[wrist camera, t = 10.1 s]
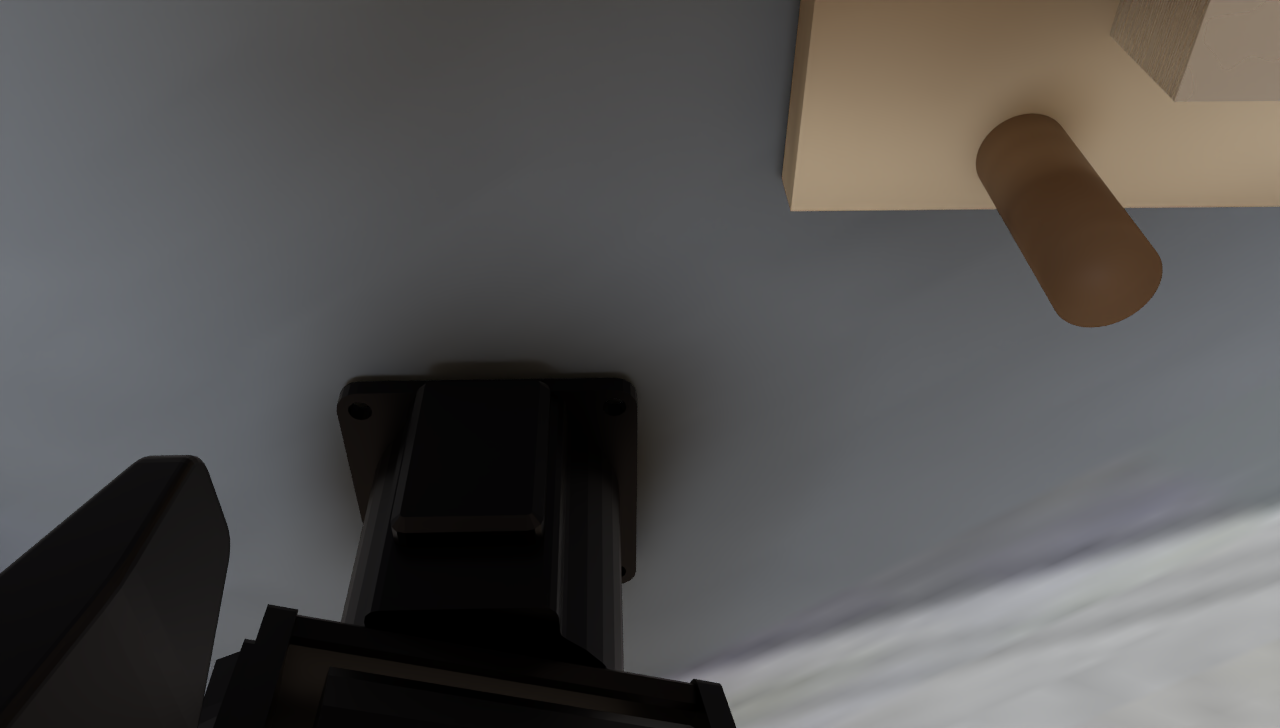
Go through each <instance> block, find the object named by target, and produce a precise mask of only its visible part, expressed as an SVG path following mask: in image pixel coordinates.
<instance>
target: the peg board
mask: <svg viewBox="0 0 1280 728" xmlns="http://www.w3.org/2000/svg"><path fill="white" fill-rule="evenodd" d="M1119 2H1120V0H801V1H800V11H799V20H798V30H797V39H796V49H795V58H794V68H793V77H792V86H791V96H790V105H789V115H788V124H787V134H786V143H785V153H784V162H783V171H782V181H783V185H784V189H785V192H786V196H787V199H788V203H789V207H790V210H791V211H858V210H962V209H997V210H998V212H999V214H1000V215H1001V217H1002V219H1003V221H1004V222H1005V224H1006V226H1007V228H1008V229H1009V231H1010V233H1011V235H1012V236H1013V238H1014V240H1015V242H1016V243H1017V245H1018V247H1019V249H1020V250H1021V252H1022V254H1023V256H1024V257H1025V259H1026V261H1027V262H1028V264H1029V266H1030V268H1031V269H1032V271H1033V273H1034V275H1035V276H1036V278H1037V280H1038V282H1039V283H1040V285H1041V287H1042V289H1043V290H1044V292H1045V294H1046V296H1047V297H1048V299H1049V301H1050V303H1051V304H1052V306H1053V308H1054V310H1055V311H1056V313H1057V314H1058V315H1059V316H1060V317H1061V318H1062V319H1063V320H1065V321H1066V322H1068V323H1070V324H1073V325H1076V326H1081V327H1101V326H1106V325H1110V324H1113V323H1116V322H1119V321H1121V320H1123V319H1126V318H1127V317H1129V316H1131V315H1133V314H1134V313H1135V312H1137V311H1138V310H1140V309H1141V308H1142V307H1143V306H1144V305H1145V304H1146V303H1147V302H1148V301H1149V300H1150V299H1151V298H1152V296H1153V295H1154V293H1155V292H1156V290H1157V288H1158V286H1159V284H1160V281H1161V278H1162V262H1161V259H1160V256H1159V255H1158V253H1157V252H1156V250H1155V249H1154V248H1153V246H1152V245H1151V244H1150V242H1149V241H1148V240H1147V238H1146V237H1145V236H1144V235H1143V233H1142V232H1141V231H1140V229H1139V228H1138V227H1137V225H1136V224H1135V223H1134V221H1133V220H1132V219H1131V217H1130V216H1129V215H1128V213H1127V212H1126V211H1125V209H1124V208H1170V207H1274V206H1280V101H1200V102H1174V101H1173V100H1172V99H1171V98H1170V97H1169V96H1168V95H1167V94H1166V93H1165V92H1164V90H1163V89H1162V88H1161V87H1160V86H1159V85H1158V84H1157V83H1156V82H1155V81H1154V80H1153V79H1152V78H1151V77H1150V76H1149V75H1148V74H1147V73H1146V72H1145V71H1144V70H1143V69H1142V68H1141V67H1140V66H1139V65H1138V64H1137V63H1136V62H1135V61H1134V60H1133V59H1132V58H1131V57H1130V56H1129V55H1128V54H1127V53H1126V52H1125V51H1124V50H1123V49H1122V48H1121V47H1120V46H1119V44H1118V43H1117V42H1116V41H1115V40H1114V39H1113V38H1112V37H1111V36H1110V32H1111V28H1112V25H1113V22H1114V18H1115V15H1116V12H1117V8H1118V5H1119Z"/></svg>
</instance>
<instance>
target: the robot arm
mask: <svg viewBox="0 0 1280 728" xmlns="http://www.w3.org/2000/svg"><path fill="white" fill-rule="evenodd" d="M614 398H615V399H620V400H622V402H621V403H617V404H611V403H608V402H606V401H607V400H609V399H614ZM357 402H360V403H365V404H366V405H368V406H370V407H367V408H362V407H358V406H357V405H355V404H354V403H357ZM337 415H338V419H339V423H340V428H341V432H342V436H343V440H344V445H345V449H346V453H347V458H348V462H349V466H350V470H351V475H352V479H353V483H354V488H355V492H356V496H357V501H358V505H359V509H360V513H361V518H362V522H363V528H362V532H361V537H360V541H359V545H358V550H357V554H356V558H355V563H354V567H353V572H352V576H351V580H350V585H349V589H348V593H347V598H346V602H345V606H344V611H343V615H342V620H341V622H336V621H331V620H325V619H319V618H313V617H308V616H302V615H297V613H298V609H292V608H286V607H280V606H275V605H269V604H268V606H267V609H266V612H265V614H264V617H263V620H262V623H261V626H260V629H259V632H258V635H257V638H256V641H255V640H249V639H245V640H244V642H243V645H242V648H241V651H240V652H237V653H234V654H232V655H229V656H226V657H223V658H220V659H218V660H216V663H215V666H214V669H213V672H212V675H211V678H210V681H209V684H208V687H207V690H206V693H205V688H206V683H207V677H208V672H209V666H210V661H211V655H212V650H213V645H214V639H215V634H216V628H217V623H218V617H219V612H220V606H221V601H222V595H223V590H224V584H225V579H226V573H227V568H228V562H229V556H230V536H229V530H228V526H227V523H226V520H225V517H224V514H223V511H222V509H221V506H220V503H219V500H218V497H217V495H216V492H215V489H214V486H213V483H212V480H211V478H210V475H209V472H208V470H207V468H206V466H205V464H204V463H203V461H202V460H201V459H200V458H198V457H196V456H192V455H161V456H147V457H143V458H141V459H139V460H138V461H136V462H135V463H133V464H132V465H131V466H129V467H128V468H127V469H126V470H125V471H123V472H122V473H121V474H120V475H118V476H117V477H116V478H115V479H114V480H112V481H111V482H110V483H109V484H108V485H106V486H105V487H104V488H103V489H102V490H100V491H99V492H98V493H97V494H96V495H94V496H93V497H92V498H91V499H89V500H88V501H87V502H86V503H85V504H83V505H82V506H81V507H80V508H79V509H77V510H76V511H75V512H74V513H73V514H71V515H70V516H69V517H68V518H67V519H65V520H64V521H63V522H62V523H61V524H59V525H58V526H57V527H56V528H54V529H53V530H52V531H51V532H50V533H48V534H47V535H46V536H45V537H44V538H42V539H41V540H40V541H39V542H38V543H36V544H35V545H34V546H33V547H32V548H30V549H29V550H28V551H27V552H25V553H24V554H23V555H22V556H21V557H19V558H18V559H17V560H16V561H15V562H13V563H12V564H11V565H10V566H9V567H7V568H6V569H5V570H4V571H3V572H1V573H0V728H736V726H735V723H734V720H733V717H732V714H731V711H730V708H729V706H728V703H727V700H726V697H725V694H724V691H723V688H722V686H721V684H720V683H714V682H709V681H703V680H697V679H693V680H692V681H691V682H690V683H687V682H681V681H675V680H670V679H664V678H658V677H652V676H647V675H641V674H635V673H629V672H624V659H623V618H622V583H625V582H627V581H630V580H631V579H632V578H633V577H634V575H635V572H636V502H637V394H636V390H635V388H634V387H633V385H632V384H631V383H630V382H627V381H625V380H623V379H618V378H577V379H508V380H439V381H370V382H355V383H350V384H349V385H347V386H345V387H344V388H343V390H342V391H341V393H340V396H339V400H338V403H337ZM204 694H205V696H204Z"/></svg>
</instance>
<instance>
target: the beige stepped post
mask: <svg viewBox="0 0 1280 728" xmlns="http://www.w3.org/2000/svg"><path fill="white" fill-rule="evenodd" d="M1110 36H1111V37H1112V38H1113V39H1114V40H1115V41H1116V42H1117V43H1118V44H1119V46H1120V47H1121V48H1122V49H1123V50H1124V51H1125V52H1126V53H1127V54H1128V55H1129V56H1130V57H1131V58H1132V59H1133V60H1134V61H1135V62H1136V63H1137V64H1138V65H1139V66H1140V67H1141V68H1142V69H1143V70H1144V71H1145V72H1146V73H1147V74H1148V75H1149V76H1150V77H1151V78H1152V79H1153V80H1154V81H1155V82H1156V83H1157V84H1158V85H1159V86H1160V87H1161V88H1162V89H1163V90H1164V92H1165V93H1166V94H1167V95H1168V96H1169V97H1170V98H1171V99H1172V100H1173V101H1174V102H1200V101H1280V0H1120V2H1119V5H1118V8H1117V12H1116V15H1115V18H1114V22H1113V25H1112V28H1111V32H1110Z"/></svg>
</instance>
